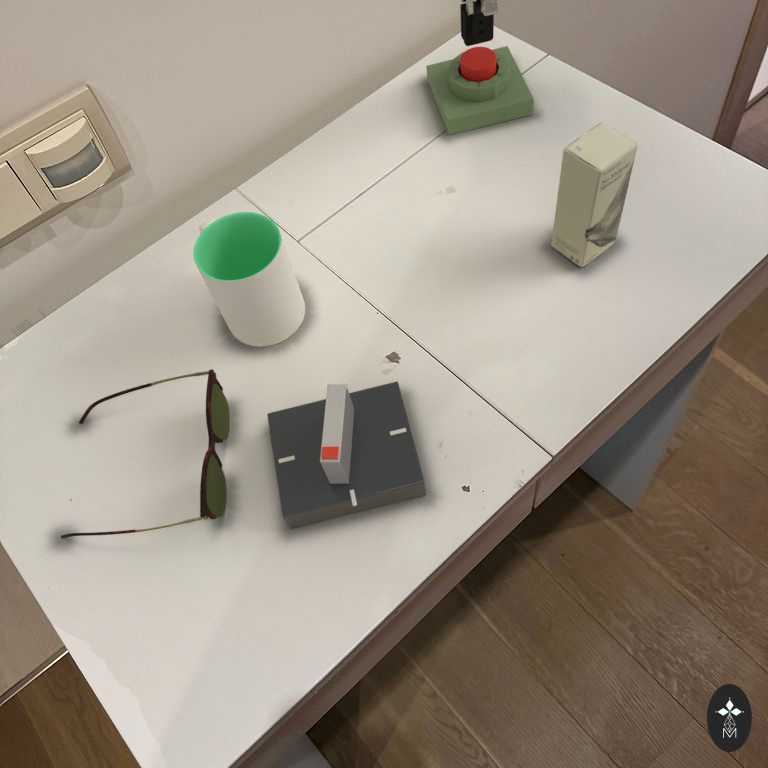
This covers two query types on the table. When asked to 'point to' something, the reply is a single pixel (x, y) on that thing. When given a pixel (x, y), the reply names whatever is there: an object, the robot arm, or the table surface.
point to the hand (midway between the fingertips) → (477, 38)
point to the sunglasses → (212, 473)
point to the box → (592, 192)
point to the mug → (250, 277)
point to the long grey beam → (337, 434)
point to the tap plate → (367, 466)
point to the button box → (479, 94)
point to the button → (478, 64)
